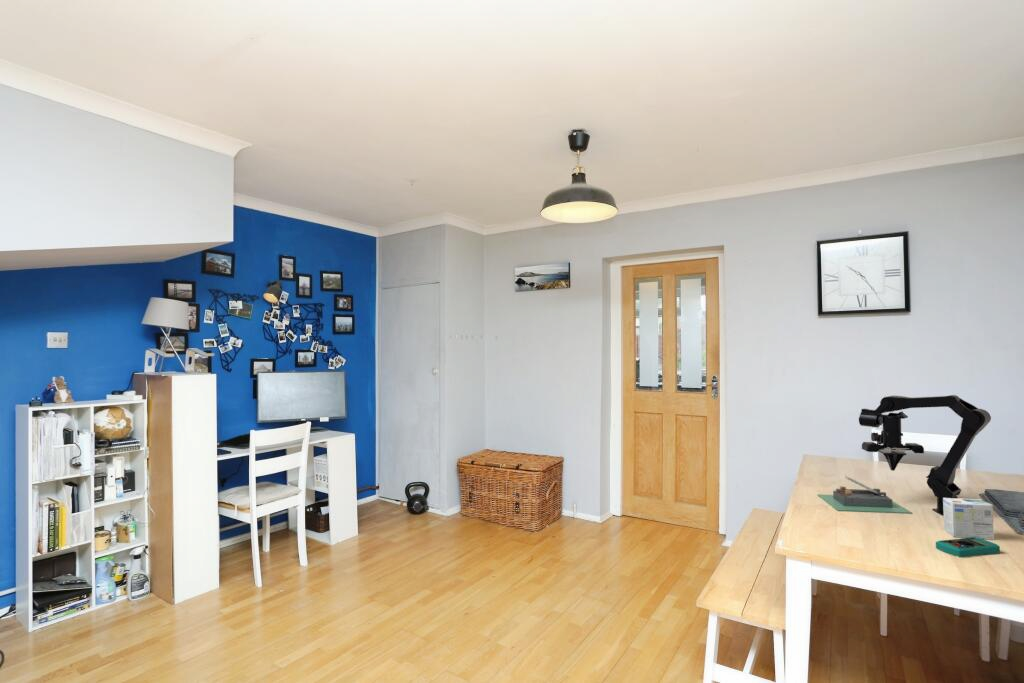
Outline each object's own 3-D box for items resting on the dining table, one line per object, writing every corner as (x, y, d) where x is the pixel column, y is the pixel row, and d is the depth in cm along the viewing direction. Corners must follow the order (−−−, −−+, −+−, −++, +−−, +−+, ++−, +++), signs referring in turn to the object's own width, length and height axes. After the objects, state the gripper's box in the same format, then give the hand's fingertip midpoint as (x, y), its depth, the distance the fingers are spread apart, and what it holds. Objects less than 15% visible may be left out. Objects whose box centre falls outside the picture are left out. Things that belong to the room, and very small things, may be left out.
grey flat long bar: (878, 494, 198) (879, 493, 198) (847, 479, 200) (848, 477, 200) (874, 492, 201) (876, 490, 200) (844, 477, 203) (845, 475, 203)
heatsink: (892, 507, 194) (892, 493, 194) (844, 506, 197) (843, 492, 197) (879, 499, 203) (878, 486, 203) (833, 498, 207) (833, 484, 207)
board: (912, 513, 188) (912, 512, 188) (837, 510, 193) (837, 509, 193) (884, 497, 207) (884, 496, 207) (817, 495, 212) (817, 494, 212)
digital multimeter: (933, 549, 157) (933, 539, 157) (975, 545, 160) (974, 535, 160) (958, 559, 150) (957, 549, 150) (1001, 554, 153) (1001, 544, 153)
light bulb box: (982, 532, 169) (981, 498, 169) (995, 540, 162) (994, 504, 162) (942, 530, 172) (941, 496, 172) (953, 537, 165) (952, 502, 165)
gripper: (909, 426, 207) (910, 466, 207) (855, 425, 211) (856, 464, 211) (924, 431, 196) (925, 473, 196) (867, 429, 200) (868, 471, 200)
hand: (892, 470), depth 201 cm, fingers closed
